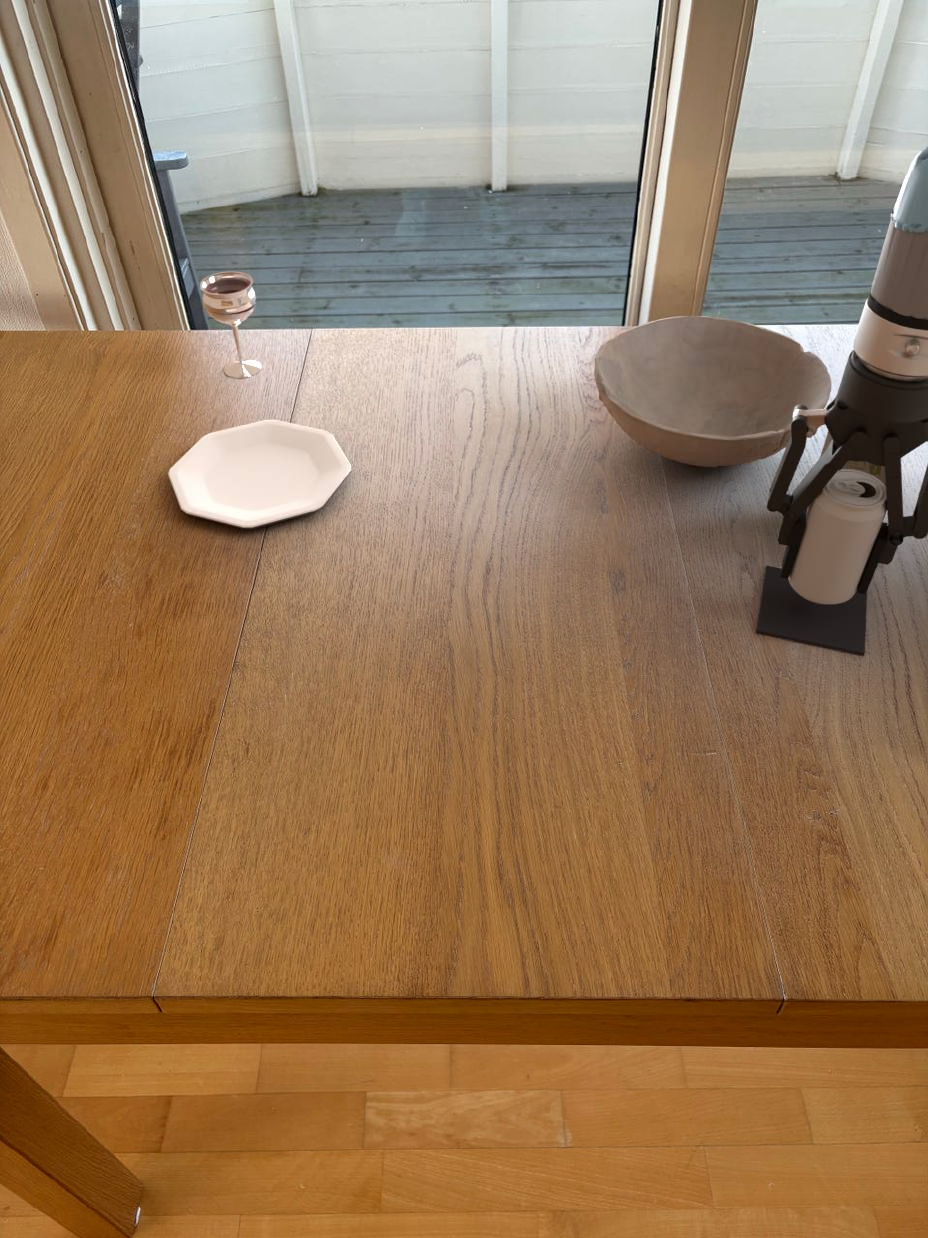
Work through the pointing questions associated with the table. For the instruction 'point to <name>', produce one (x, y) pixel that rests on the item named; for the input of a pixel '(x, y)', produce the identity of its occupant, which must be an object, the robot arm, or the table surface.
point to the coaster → (811, 617)
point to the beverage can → (838, 537)
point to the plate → (259, 474)
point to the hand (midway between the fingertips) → (823, 576)
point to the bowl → (708, 388)
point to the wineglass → (231, 311)
